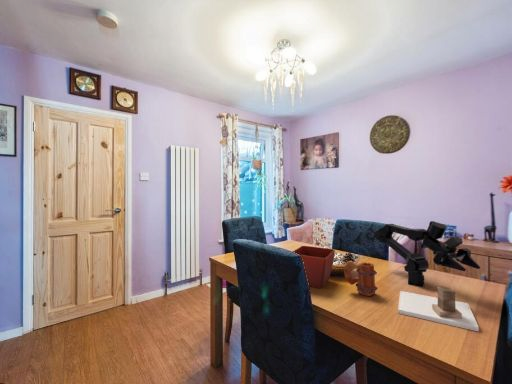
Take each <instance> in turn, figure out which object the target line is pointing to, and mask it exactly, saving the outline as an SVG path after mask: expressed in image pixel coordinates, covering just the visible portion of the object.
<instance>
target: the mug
mask: <svg viewBox="0 0 512 384" xmlns="http://www.w3.org/2000/svg"><path fill="white" fill-rule="evenodd" d="M354 270H356V272H357V274H358V275H357V276H356V277H354V276H352V274H351V272H352V271H354ZM343 273H344V278H345V280H347V282H348V283H349V285H351V286H353V285H354V284H355V287H356V291H357V292H358V293H359V294H360V295H362V296H365V297H371V296H374V295H375V294H376V291H377V290H378V287H377V286H376V278H375V277H376V275H377V273H378V272H377V271H376V270H375V265H374V263H373V262H372V263H371V262H366V261H362V262H360V263H358V264H357V263H355V262H354V261H352V260H348V261H347V262H346V263H345V265H344V266H343Z"/></svg>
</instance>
